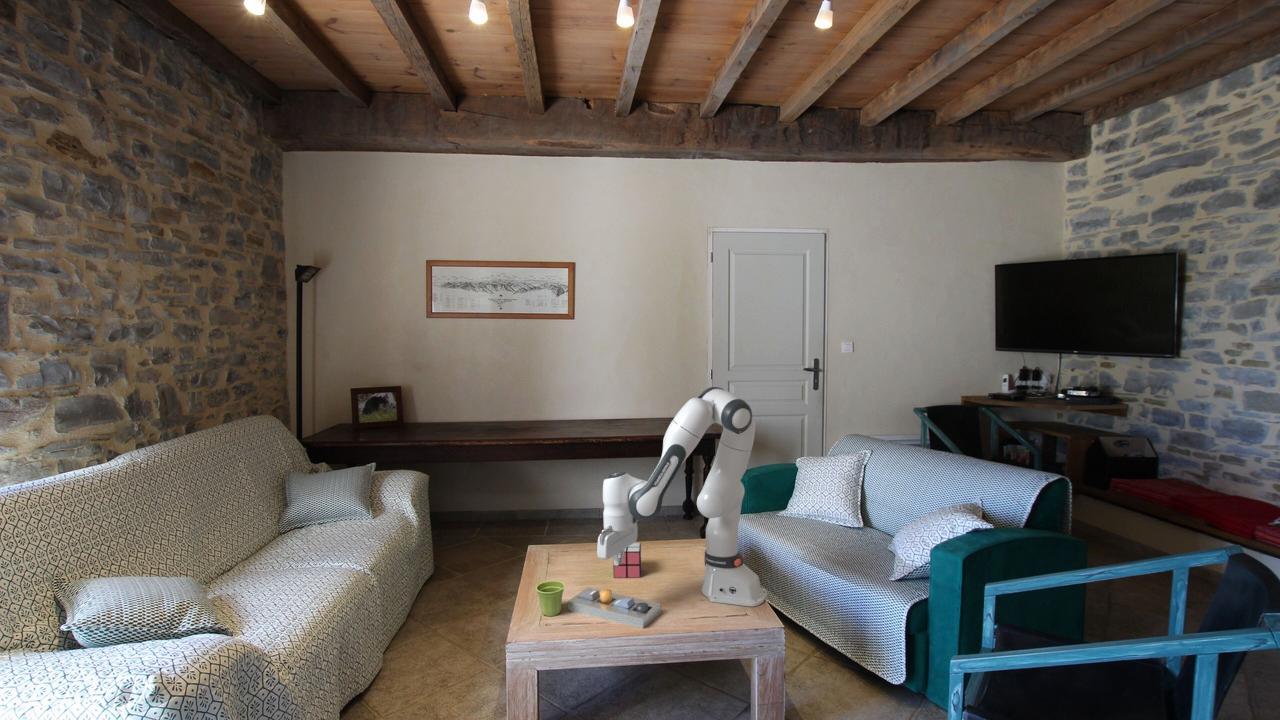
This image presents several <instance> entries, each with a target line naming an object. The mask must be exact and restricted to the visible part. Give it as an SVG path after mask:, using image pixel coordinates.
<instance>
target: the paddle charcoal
mask: <svg viewBox="0 0 1280 720" xmlns="http://www.w3.org/2000/svg"><path fill="white" fill-rule="evenodd" d="M598 590H599V589H597V591H586V592H583V593H582V594H581V595H579V596H578V598H581V599H585V600H589V601H592V600H594V599H596V598H597V597H598V596H599V592H598Z"/></svg>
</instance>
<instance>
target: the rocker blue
mask: <svg viewBox="0 0 1280 720" xmlns="http://www.w3.org/2000/svg"><path fill="white" fill-rule="evenodd" d="M633 598H634V597H633ZM633 598H628V599H622V600H618V601H617V602H616V603H614V604H613V606H615V607H619V608H624V609H626V608H630V607H631V606H632V605H633V604H634V603H635V602H634V599H633Z"/></svg>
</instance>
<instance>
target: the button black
mask: <svg viewBox="0 0 1280 720" xmlns="http://www.w3.org/2000/svg"><path fill="white" fill-rule="evenodd" d="M636 611H637V612H641V613H645V614H646V613H647V612H648V604H647V603H638V604H636Z"/></svg>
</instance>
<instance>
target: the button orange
mask: <svg viewBox="0 0 1280 720" xmlns="http://www.w3.org/2000/svg"><path fill="white" fill-rule="evenodd" d="M600 590H601V591H600V603H602V604H606V605H608V604H611V603H612V593H613V591H612V590H611V589H609V588H604V589H600Z"/></svg>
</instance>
